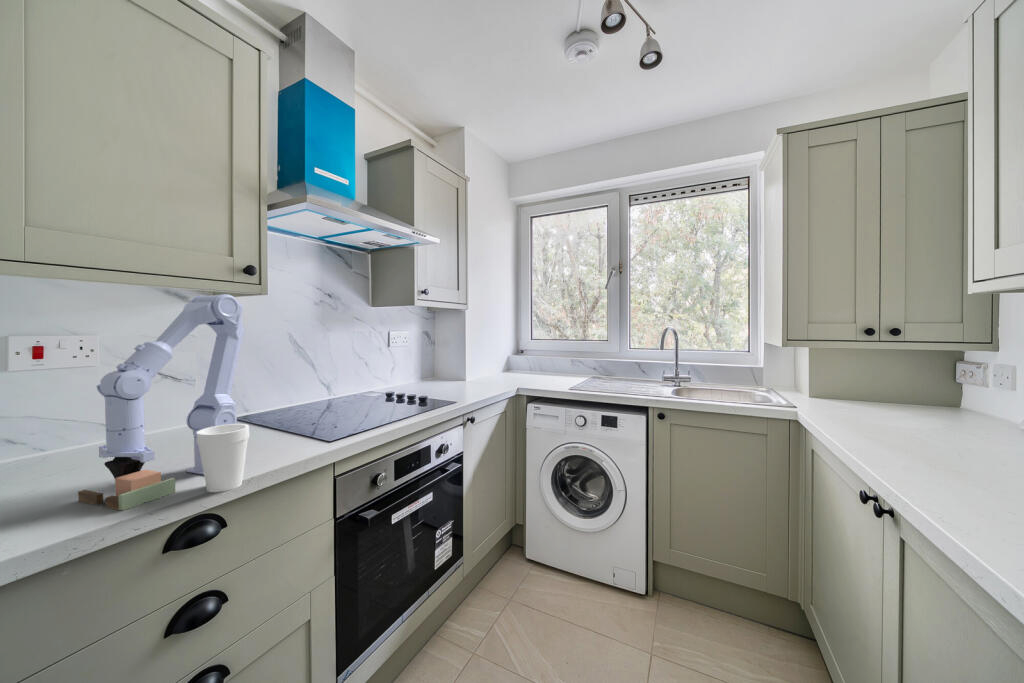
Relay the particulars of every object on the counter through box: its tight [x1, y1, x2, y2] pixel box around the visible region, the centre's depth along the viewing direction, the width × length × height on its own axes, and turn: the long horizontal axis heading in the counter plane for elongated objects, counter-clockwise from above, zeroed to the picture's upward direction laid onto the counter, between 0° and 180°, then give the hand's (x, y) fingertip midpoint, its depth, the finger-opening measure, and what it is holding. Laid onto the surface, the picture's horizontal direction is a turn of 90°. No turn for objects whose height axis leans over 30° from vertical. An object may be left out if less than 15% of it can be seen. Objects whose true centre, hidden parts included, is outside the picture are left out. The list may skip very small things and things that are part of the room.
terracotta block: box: [114, 469, 162, 497], centre depth 79 cm, size 5×5×5 cm
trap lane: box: [77, 477, 176, 511], centre depth 80 cm, size 9×14×3 cm, turn 72°
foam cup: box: [197, 423, 250, 493], centre depth 85 cm, size 10×9×13 cm
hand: (127, 491), depth 80 cm, fingers closed
